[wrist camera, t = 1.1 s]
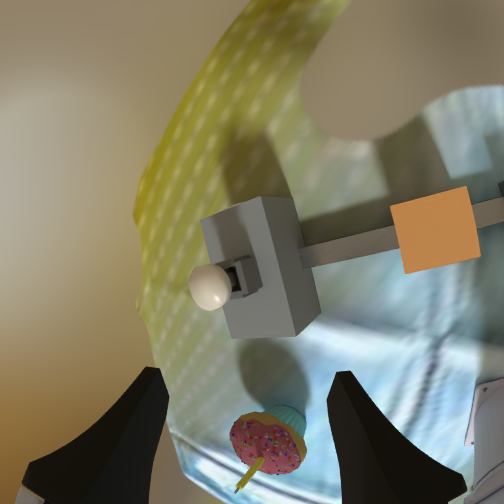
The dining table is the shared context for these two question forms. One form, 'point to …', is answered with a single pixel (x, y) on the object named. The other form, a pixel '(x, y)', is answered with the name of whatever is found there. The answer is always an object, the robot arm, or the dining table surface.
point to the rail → (387, 237)
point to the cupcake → (269, 441)
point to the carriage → (436, 230)
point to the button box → (263, 267)
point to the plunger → (211, 286)
